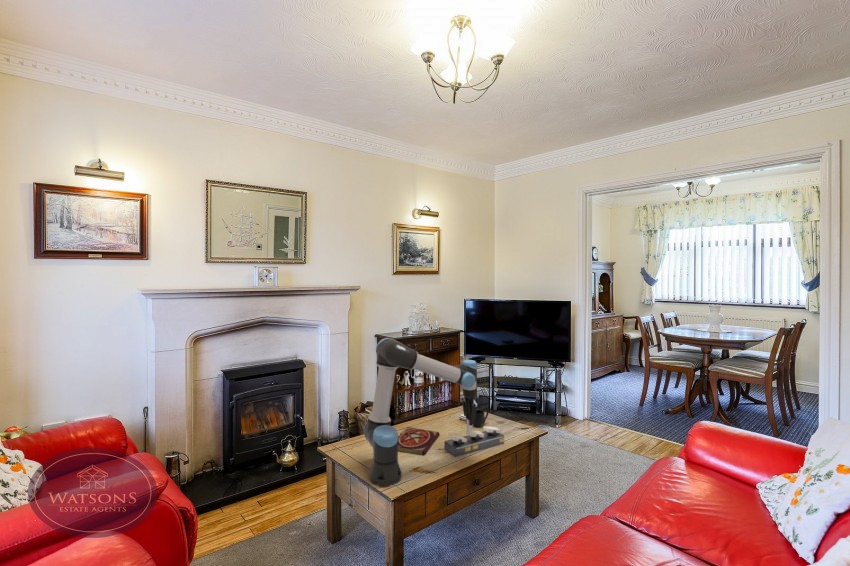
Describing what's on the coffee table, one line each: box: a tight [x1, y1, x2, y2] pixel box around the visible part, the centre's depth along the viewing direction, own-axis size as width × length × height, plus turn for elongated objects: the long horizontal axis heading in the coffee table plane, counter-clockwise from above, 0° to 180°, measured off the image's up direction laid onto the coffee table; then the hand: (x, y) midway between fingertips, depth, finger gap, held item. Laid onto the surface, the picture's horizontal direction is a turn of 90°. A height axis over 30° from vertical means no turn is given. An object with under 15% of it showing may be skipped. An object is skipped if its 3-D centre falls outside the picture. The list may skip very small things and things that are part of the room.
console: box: [443, 430, 505, 458], centre depth 237 cm, size 34×10×5 cm, turn 120°
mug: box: [472, 408, 489, 429], centre depth 268 cm, size 8×12×10 cm
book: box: [398, 426, 440, 457], centre depth 242 cm, size 28×21×5 cm
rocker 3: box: [482, 425, 502, 435], centre depth 243 cm, size 9×5×3 cm, turn 121°
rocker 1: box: [448, 433, 467, 444], centre depth 231 cm, size 9×5×3 cm, turn 121°
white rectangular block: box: [465, 430, 484, 439], centre depth 237 cm, size 9×5×3 cm, turn 121°
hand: (469, 430), depth 235 cm, fingers closed
